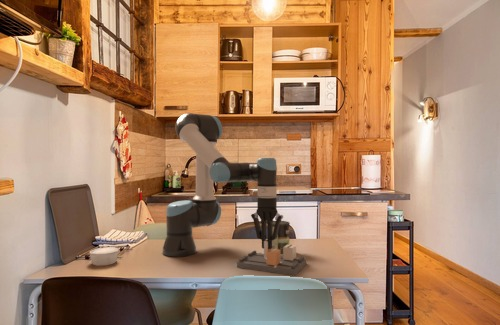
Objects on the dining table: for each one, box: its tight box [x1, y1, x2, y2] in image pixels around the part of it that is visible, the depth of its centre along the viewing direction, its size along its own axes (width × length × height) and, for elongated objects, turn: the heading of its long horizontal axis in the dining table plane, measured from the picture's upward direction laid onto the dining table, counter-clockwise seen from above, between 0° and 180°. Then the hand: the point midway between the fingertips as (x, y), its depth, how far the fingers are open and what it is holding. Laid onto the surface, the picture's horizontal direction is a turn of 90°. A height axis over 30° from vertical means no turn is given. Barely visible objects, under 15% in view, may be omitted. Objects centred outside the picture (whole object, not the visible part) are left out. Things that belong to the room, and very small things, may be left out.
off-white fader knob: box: [283, 244, 297, 261], centre depth 140 cm, size 4×5×5 cm
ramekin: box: [89, 246, 120, 267], centre depth 142 cm, size 11×11×5 cm
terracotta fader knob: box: [266, 249, 281, 266], centre depth 134 cm, size 4×5×5 cm
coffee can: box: [272, 220, 290, 256], centre depth 158 cm, size 10×10×14 cm
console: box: [236, 250, 307, 276], centre depth 139 cm, size 24×17×3 cm
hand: (266, 256), depth 135 cm, fingers closed
